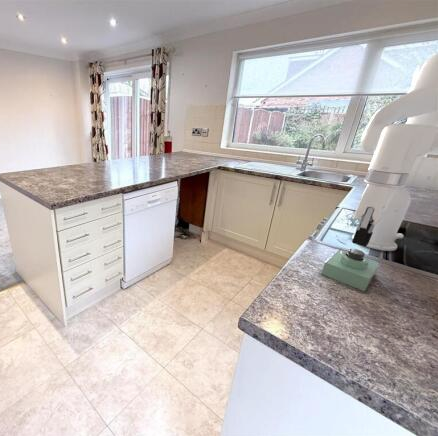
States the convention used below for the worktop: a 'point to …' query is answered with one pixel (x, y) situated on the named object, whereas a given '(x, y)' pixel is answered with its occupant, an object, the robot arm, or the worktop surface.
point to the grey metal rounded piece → (355, 254)
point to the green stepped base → (350, 270)
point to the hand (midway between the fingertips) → (359, 243)
